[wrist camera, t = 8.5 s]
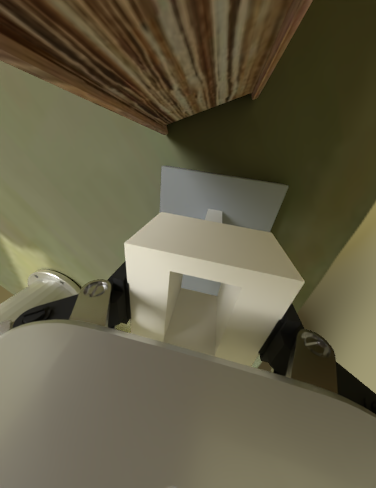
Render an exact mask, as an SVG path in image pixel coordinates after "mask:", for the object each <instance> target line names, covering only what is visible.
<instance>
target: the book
mask: <svg viewBox="0 0 376 488" xmlns="http://www.w3.org/2000/svg"><path fill="white" fill-rule="evenodd" d="M312 1H313V0H0V60H1V61H3V62H5V63H7V64H10V65H12V66H14V67H16V68H18V69H21V70H23V71H25V72H27V73H29V74H32V75H34V76H36V77H38V78H40V79H43V80H45V81H47V82H49V83H51V84H54V85H56V86H58V87H60V88H62V89H65V90H67V91H69V92H71V93H73V94H76V95H78V96H80V97H82V98H84V99H86V100H89V101H91V102H93V103H95V104H97V105H100V106H102V107H104V108H106V109H108V110H111V111H113V112H115V113H117V114H119V115H122V116H124V117H126V118H128V119H130V120H133V121H135V122H137V123H139V124H141V125H144V126H146V127H148V128H150V129H152V130H155V131H157V132H159V133H161V134H163V135H166V134H168V129H167V125H168V124H170V123H173V122H175V121H178V120H181V119H183V118H186V117H189V116H191V115H194V114H197V113H199V112H202V111H205V110H207V109H210V108H213V107H215V106H218V105H221V104H223V103H226V102H229V101H231V100H234V99H237V98H239V97H242V96H245V95H247V94H250V93H251V95H252V100H254V99H256V98H258V97H259V95H260V93H261V91H262V90H263V88H264V86H265V84H266V83H267V81H268V79H269V77H270V75H271V74H272V72H273V70H274V68H275V67H276V65H277V63H278V61H279V60H280V58H281V56H282V54H283V52H284V51H285V49H286V47H287V45H288V44H289V42H290V40H291V38H292V36H293V35H294V33H295V31H296V29H297V28H298V26H299V24H300V22H301V21H302V19H303V17H304V15H305V13H306V12H307V10H308V8H309V6H310V5H311V3H312Z"/></svg>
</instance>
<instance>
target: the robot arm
mask: <svg viewBox="0 0 376 488" xmlns="http://www.w3.org/2000/svg"><path fill="white" fill-rule="evenodd" d="M129 319H131V308H130V294H129V283H127V272H126V261H125V262H124V263H123V264H122V265H121V266H120V267H119V268H118V269H117V270H116V272H115V273H114V274H113V275H112V276H111V277H110V278H109V279H108V280H103V279H98V280H93V281H90V282H88V283H87V284H85V285H84V286H83V287H82V288H81V289H80V288H79V287H78V286H77V285H76V284H75V283H74V282H73V281H72V280H70V279H69V278H67V277H66V276H64V275H62V274H60V273H58V272H55V271H52V270H45V269H43V270H38V271H36V272H34V273H33V274H31V275H30V276H29V278H28V287H26V288H25V289H23V290H22V291H20V292H19V293H17V294H16V295H14V296H12V297H11V298H9V299H8V300H6V301H5V302H3V303H2V304H0V488H376V394H375V393H374V392H373V391H371V390H370V389H369V388H368V387H367V386H365V385H364V384H363V383H362V382H360V381H359V380H358V379H357V378H355V377H354V376H353V375H352V374H351V373H349V372H348V371H347V370H346V369H344V368H343V367H342V366H341V365H340V364H338V363H337V362H336V359H335V353H334V350H333V348H332V347H331V345H329V343H328V342H327V341H326V340H325V339H324V338H323V337H322V336H320V335H319V334H317V333H315V332H313V331H311V330H307V329H304V327H303V325H302V323H301V321H300V319H299V317H298V315H297V313H296V310H295V308H294V306H293V304H292V303H291V305H290V306H289V308H288V309H287V311H286V312H285V314H284V316H283V317H282V319H281V320H280V319H279V320H278V322H277V323H276V325H275V327H274V328H273V330H272V331H271V333H270V335H269V336H268V338H267V339H266V341H265V343H264V344H263V346H262V347H261V349H260V350H259V352H258V353H259V354H260V359H261V361H265V362H268V363H269V364H270V366H271V367H272V369H271V372H267V371H264V370H261V369H257V368H254V367H250V366H247V365H243V364H240V363H236V362H233V361H229V360H226V359H222V358H218V357H215V356H211V355H208V354H204V353H201V352H197V351H193V350H190V349H186V348H182V347H179V346H175V345H172V344H168V343H164V342H161V341H157V340H153V339H150V338H146V337H142V336H139V335H135V334H131V333H128V332H124V331H120V330H116V326H117V325H118V324H120V323H125V324H127V322H128V321H129Z"/></svg>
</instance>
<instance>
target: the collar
mask: <svg viewBox="0 0 376 488" xmlns="http://www.w3.org/2000/svg"><path fill="white" fill-rule="evenodd" d="M124 246H125V259H126V272H127V283H129V294H130V308H131V319H130V326H131V334H135V335H139V336H142V337H146V338H150V339H153V340H157V341H161V342H164V343H168V344H172V345H175V346H179V347H182V348H186V349H190V350H193V351H197V352H201V353H204V354H208V355H211V356H215V357H218V358H222V359H226V360H229V361H233V362H236V363H240V364H243V365H247V366H250V367H251V366H252V364H253V363H254V361H255V359H256V358H257V356H258V355H259V353H258V352H259V350H260V349H261V347H262V346H263V344H264V343H265V341H266V339H267V338H268V336H269V335H270V333H271V331H272V330H273V328H274V327H275V325H276V323H277V322H278V320H279V319H280V320H281V319H282V317H283V316H284V314H285V312H286V311H287V309H288V308H289V306H290V305H291V303H292V301H293V300H294V298H295V297H296V295H297V294H298V292H299V290H300V289H301V287H302V286H303V284H304V283H305V281H304V280H303V278H302V277H301V275H300V274H299V272H298V271H297V269H296V268H295V266H294V265H293V263H292V262H291V260H290V259H289V257H288V256H287V254H286V253H285V252H284V250H283V249H282V247H281V246H280V244H279V243H278V241H277V240H276V238H275V237H274V235H273V234H272V233H271V232H266V231H260V230H255V229H250V228H244V227H239V226H234V225H228V224H223V223H218V222H212V221H207V220H202V219H197V218H191V217H186V216H181V215H175V214H170V213H165V212H160V213H159V214H158V215H157V216H156V217H154V218H153V219H152V220H151V221H150V222H149V223H147V224H146V225H145V226H144V227H143V228H141V229H140V230H139V231H138V232H137V233H136V234H134V235H133V236H132V237H131V238H130V239H128V240H127V241H126V242H125V243H124ZM183 274H185V275H189V276H194V277H198V278H203V279H207V280H211V281H216V282H220V283H221V286H220V289H219V292H218V295H217V296H214V295H210V294H206V293H201V292H197V291H193V290H189V289H184V288H181V284H182V277H183Z"/></svg>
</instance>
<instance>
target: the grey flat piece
mask: <svg viewBox="0 0 376 488" xmlns="http://www.w3.org/2000/svg"><path fill="white" fill-rule="evenodd" d="M288 187H289V186H287V185H285V184H280V183H274V182H267V181H261V180H254V179H248V178H242V177H235V176H229V175H222V174H216V173H209V172H203V171H197V170H190V169H184V168H177V167H171V166H162V171H161V195H160V212H165V213H170V214H175V215H181V216H186V217H191V218H197V219H202V220H207V221H212V222H218V223H223V224H228V225H234V226H239V227H244V228H250V229H255V230H260V231H266V232H270V230H271V228H272V226H273V223H274V221H275V218H276V216H277V214H278V211H279V209H280V206H281V204H282V201H283V199H284V197H285V194H286V192H287V189H288ZM220 286H221V283H220V282H216V281H211V280H207V279H203V278H198V277H194V276H189V275H185V274H183V277H182V284H181V288H184V289H189V290H193V291H197V292H201V293H206V294H210V295H214V296H217V295H218V292H219V289H220Z"/></svg>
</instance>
